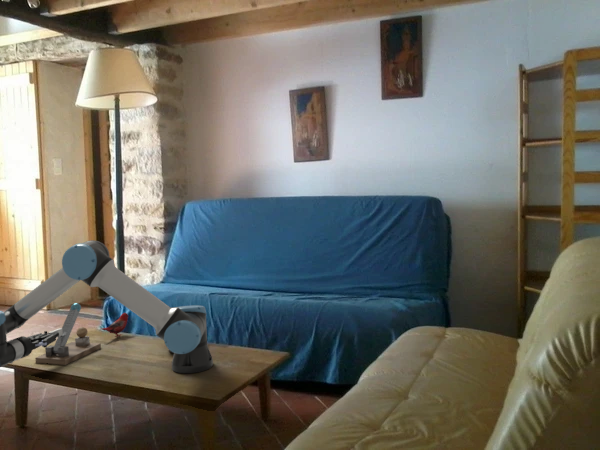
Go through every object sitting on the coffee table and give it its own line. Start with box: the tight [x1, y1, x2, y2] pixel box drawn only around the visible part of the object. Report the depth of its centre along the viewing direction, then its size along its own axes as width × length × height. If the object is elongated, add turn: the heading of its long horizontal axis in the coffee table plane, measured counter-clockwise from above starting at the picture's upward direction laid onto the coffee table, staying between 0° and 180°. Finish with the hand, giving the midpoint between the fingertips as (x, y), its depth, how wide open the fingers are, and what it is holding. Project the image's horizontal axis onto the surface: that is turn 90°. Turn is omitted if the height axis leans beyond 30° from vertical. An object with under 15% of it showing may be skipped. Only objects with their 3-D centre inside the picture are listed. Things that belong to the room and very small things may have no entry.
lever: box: [52, 302, 82, 355], centre depth 222 cm, size 4×4×22 cm
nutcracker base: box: [35, 326, 102, 366], centre depth 223 cm, size 22×14×9 cm, turn 165°
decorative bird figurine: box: [99, 312, 130, 338], centre depth 247 cm, size 3×18×10 cm, turn 153°
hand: (61, 331), depth 218 cm, fingers closed
